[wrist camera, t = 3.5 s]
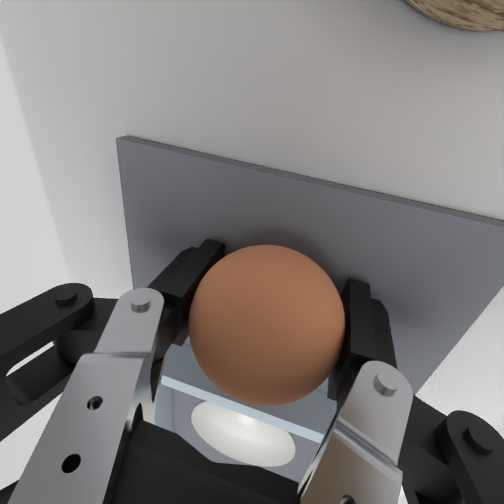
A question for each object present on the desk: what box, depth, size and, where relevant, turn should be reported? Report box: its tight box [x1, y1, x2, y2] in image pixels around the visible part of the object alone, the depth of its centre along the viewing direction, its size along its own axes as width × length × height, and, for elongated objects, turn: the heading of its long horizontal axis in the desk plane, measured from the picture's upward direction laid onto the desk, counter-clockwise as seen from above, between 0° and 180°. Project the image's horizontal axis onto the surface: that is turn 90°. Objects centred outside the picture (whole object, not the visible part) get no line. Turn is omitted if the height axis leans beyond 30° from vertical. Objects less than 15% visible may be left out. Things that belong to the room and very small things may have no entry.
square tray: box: [154, 344, 337, 467], centre depth 18 cm, size 14×12×2 cm
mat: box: [116, 136, 504, 487], centre depth 16 cm, size 24×14×1 cm, turn 172°
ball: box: [188, 245, 345, 406], centre depth 9 cm, size 5×5×5 cm
